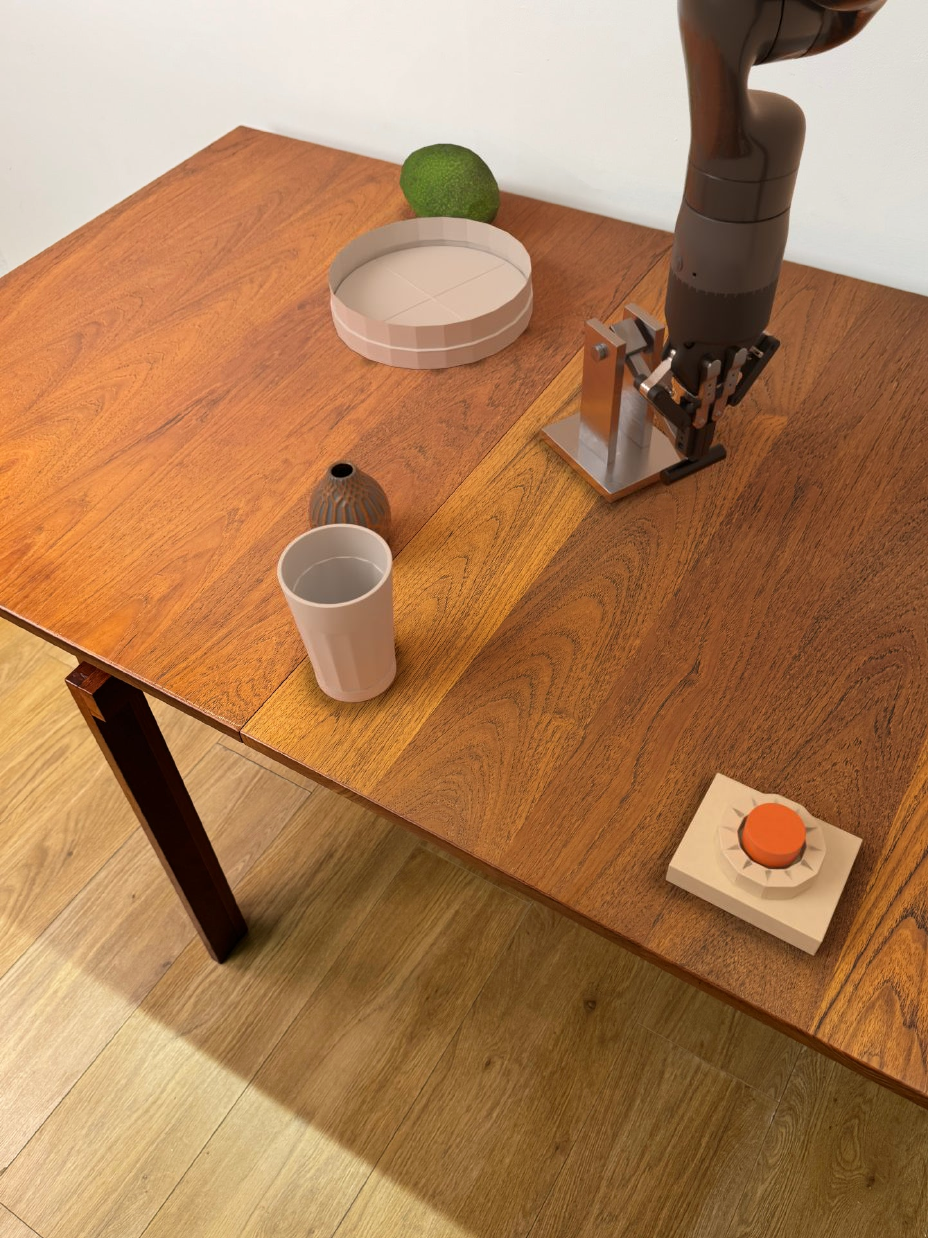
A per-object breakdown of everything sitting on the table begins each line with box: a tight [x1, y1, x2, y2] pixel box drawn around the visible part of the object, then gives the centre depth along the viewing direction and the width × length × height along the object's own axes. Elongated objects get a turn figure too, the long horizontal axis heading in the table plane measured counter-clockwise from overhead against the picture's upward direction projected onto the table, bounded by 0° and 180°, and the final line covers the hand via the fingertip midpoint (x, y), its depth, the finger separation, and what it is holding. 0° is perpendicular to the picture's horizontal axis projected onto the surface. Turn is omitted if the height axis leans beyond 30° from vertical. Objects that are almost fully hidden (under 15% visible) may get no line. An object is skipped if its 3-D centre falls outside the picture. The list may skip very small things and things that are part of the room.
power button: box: [742, 803, 806, 867], centre depth 62 cm, size 4×4×2 cm
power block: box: [665, 772, 863, 956], centre depth 64 cm, size 10×8×4 cm
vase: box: [308, 459, 392, 543], centre depth 83 cm, size 7×7×9 cm
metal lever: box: [608, 317, 728, 487], centre depth 84 cm, size 14×6×2 cm, turn 31°
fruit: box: [399, 143, 501, 225], centre depth 118 cm, size 15×10×10 cm, turn 31°
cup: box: [276, 524, 397, 703], centre depth 73 cm, size 8×8×12 cm
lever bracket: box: [540, 302, 681, 504], centre depth 88 cm, size 11×9×14 cm
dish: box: [327, 217, 534, 370], centre depth 108 cm, size 22×22×5 cm
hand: (692, 452), depth 82 cm, fingers closed
